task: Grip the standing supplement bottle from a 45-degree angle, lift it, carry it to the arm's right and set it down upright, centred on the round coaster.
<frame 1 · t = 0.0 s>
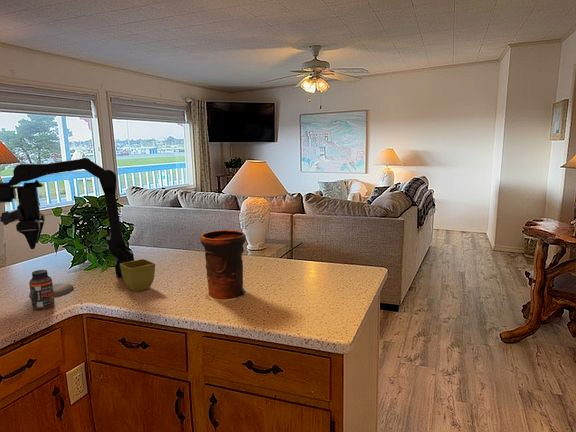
hand: (34, 245, 140), 15 cm above the worktop, tool pointing down, fingers open, 9 cm apart
flower pot: (139, 289, 139), on the worktop
supplement bottle: (44, 307, 125), on the worktop
coaster: (52, 291, 137), on the worktop
vessel: (225, 293, 133), on the worktop
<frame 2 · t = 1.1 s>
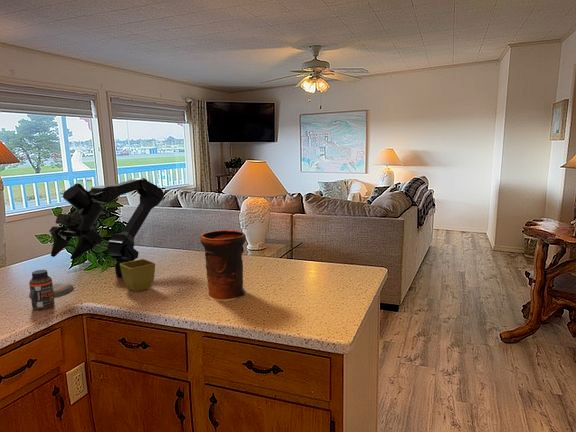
hand: (61, 257, 129), 13 cm above the worktop, tool tilted 45°, fingers open, 9 cm apart
nothing on the worktop moved.
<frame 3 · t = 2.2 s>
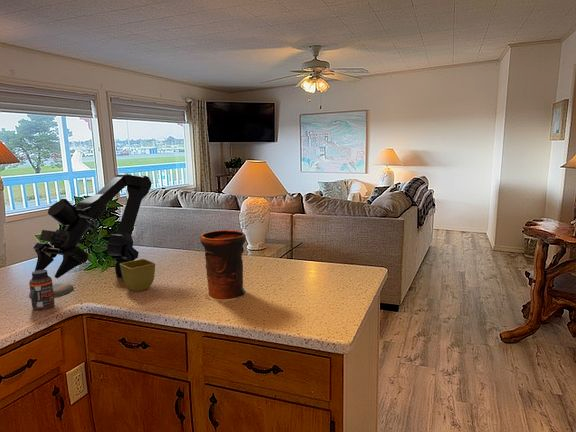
hand: (45, 276, 124), 9 cm above the worktop, tool tilted 45°, fingers open, 9 cm apart
nothing on the worktop moved.
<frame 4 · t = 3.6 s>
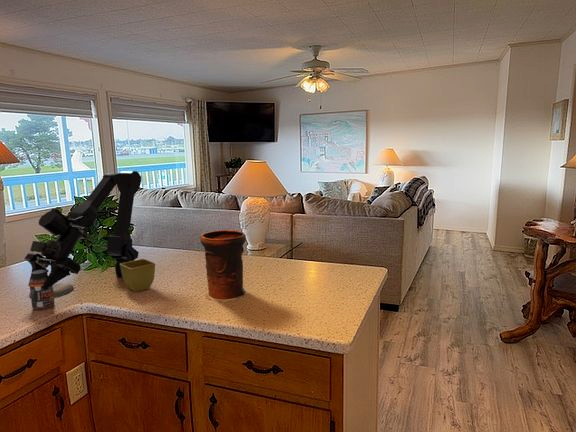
hand: (36, 287, 122), 7 cm above the worktop, tool tilted 45°, fingers closed on supplement bottle, 6 cm apart
supplement bottle: (44, 307, 125), on the worktop, touching gripper
everything else where it was.
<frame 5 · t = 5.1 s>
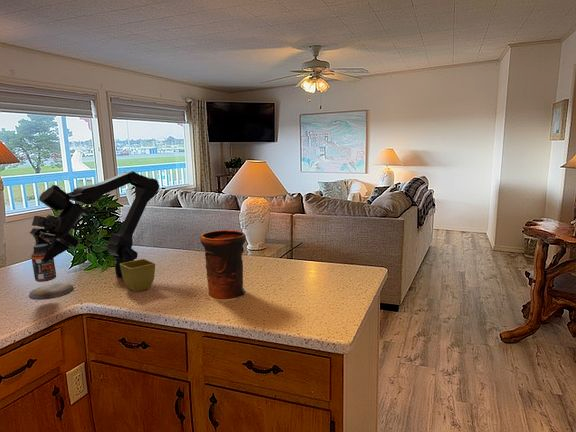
hand: (38, 260, 128), 13 cm above the worktop, tool tilted 45°, fingers closed on supplement bottle, 6 cm apart
supplement bottle: (46, 280, 130), point 6 cm above the worktop, touching gripper
everything else where it was.
when the fingers open (8 cm above the worktop, at t = 7.0 s): supplement bottle stays where it is, resting on coaster.
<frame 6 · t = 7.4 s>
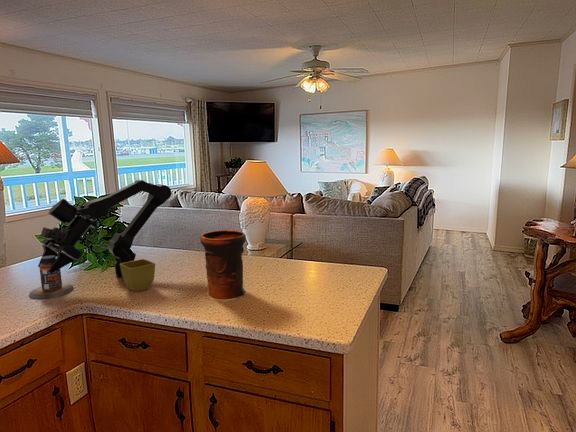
hand: (44, 269, 135), 8 cm above the worktop, tool tilted 45°, fingers open, 9 cm apart
supplement bottle: (52, 289, 137), point 1 cm above the worktop, touching coaster
everything else where it was.
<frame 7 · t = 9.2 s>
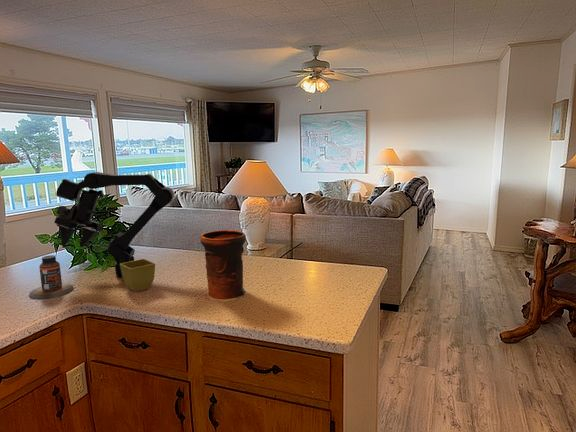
hand: (72, 246, 147), 13 cm above the worktop, tool tilted 25°, fingers open, 9 cm apart
nothing on the worktop moved.
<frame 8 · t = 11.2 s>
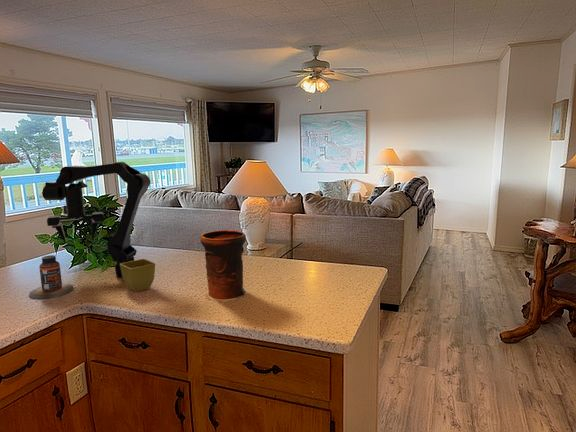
hand: (79, 241, 153), 13 cm above the worktop, tool pointing down, fingers open, 9 cm apart
nothing on the worktop moved.
at the end: supplement bottle 0.3 cm from the coaster (horizontally); supplement bottle tilted 0°; the gripper is holding nothing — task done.
